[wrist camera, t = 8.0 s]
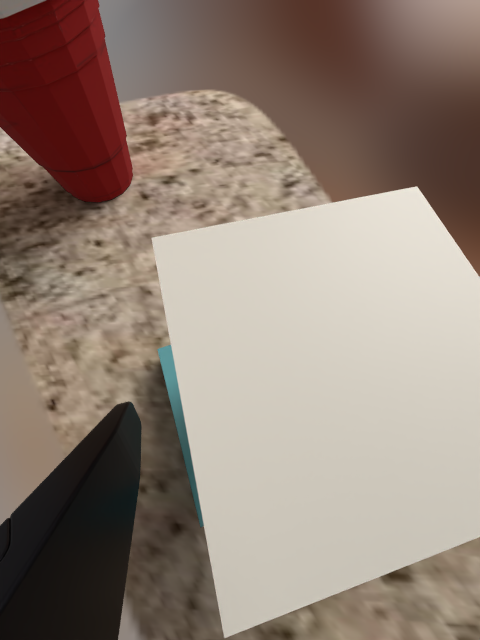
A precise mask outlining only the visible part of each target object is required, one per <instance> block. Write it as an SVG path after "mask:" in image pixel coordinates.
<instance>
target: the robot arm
mask: <svg viewBox="0 0 480 640" xmlns="http://www.w3.org/2000/svg"><path fill="white" fill-rule="evenodd" d="M140 467H141V421H140V419H139V417H138V414H137V412H136V410H135V408H134V405H133V404H132V403H131V402H125V403H121V404H118V405H116V406H115V407H114V408H113V409H112V410H111V411H110V412H109V413H108V414H107V415H106V416H105V417H104V418H103V419H102V420H101V422H100V423H99V424H98V425H97V426H96V427H95V428H94V429H93V430H92V431H91V432H90V433H89V434H88V435H87V436H86V437H85V438H84V439H83V440H82V441H81V442H80V443H79V444H78V445H77V446H76V448H75V449H74V450H73V451H72V452H71V453H70V454H69V455H68V456H67V457H66V458H65V459H64V460H63V461H62V462H61V463H60V464H59V465H58V466H57V467H56V468H55V469H54V471H53V472H51V473H50V475H49V476H48V477H47V478H46V479H45V480H44V481H43V482H42V483H41V484H40V485H39V486H38V487H37V488H36V489H35V490H34V491H33V493H31V494H30V495H29V497H27V498H26V499H25V501H24V502H23V503H22V504H21V505H20V506H19V507H18V508H17V509H16V510H15V511H14V512H13V513H12V514H11V517H10V518H7V519H6V520H5V521H4V522H3V523H2V524H1V525H0V640H118V635H119V628H120V620H121V613H122V606H123V599H124V591H125V584H126V577H127V569H128V562H129V555H130V547H131V540H132V533H133V526H134V518H135V511H136V504H137V496H138V489H139V481H140Z"/></svg>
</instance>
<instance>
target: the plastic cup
mask: <svg viewBox="0 0 480 640" xmlns="http://www.w3.org/2000/svg"><path fill="white" fill-rule="evenodd" d="M98 8H99V3H98V0H0V127H1V128H2V129H3V130H4V131H5V132H6V133H7V134H8V135H9V136H10V137H11V138H12V139H13V140H14V141H15V142H16V143H17V144H18V145H19V146H20V147H21V148H22V149H23V150H24V151H25V152H26V153H27V154H28V155H29V156H30V157H32V158H33V159H34V160H35V161H36V162H37V163H38V164H39V165H40V166H43V167H44V168H45V169H46V170H47V172H48V173H49V174H50V175H51V176H52V177H53V178H54V179H55V180H56V181H57V182H58V183H59V184H60V185H61V186H62V187H63V188H64V189H65V190H66V191H67V192H69V193H71V194H72V195H73V196H74V197H76V198H78V199H80V200H82V201H85V202H102V201H106V200H111V199H113V198H115V197H117V196H118V195H120V194H122V193H123V192H124V191H125V190H126V189H127V188H128V187H129V185H130V184H131V180H132V177H133V173H132V169H133V168H132V164H131V159H130V155H129V150H128V146H127V142H126V136H127V135H126V131H125V127H124V122H123V118H122V113H121V109H120V105H119V100H118V96H117V92H116V87H115V83H114V78H113V74H112V70H111V65H110V61H109V56H108V52H107V48H106V43H105V39H104V38H105V32H104V29H103V25H102V21H101V17H100V13H99V9H98Z"/></svg>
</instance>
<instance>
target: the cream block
mask: <svg viewBox="0 0 480 640" xmlns="http://www.w3.org/2000/svg"><path fill="white" fill-rule="evenodd" d="M152 243H153V248H154V254H155V259H156V265H157V270H158V276H159V281H160V287H161V292H162V298H163V303H164V309H165V314H166V320H167V325H168V331H169V336H170V342H171V347H172V353H173V358H174V364H175V369H176V375H177V380H178V386H179V391H180V397H181V402H182V408H183V413H184V419H185V424H186V430H187V435H188V441H189V446H190V452H191V457H192V463H193V468H194V474H195V479H196V485H197V490H198V496H199V501H200V507H201V512H202V518H203V523H204V529H205V534H206V540H207V545H208V551H209V556H210V562H211V567H212V573H213V578H214V584H215V589H216V595H217V600H218V606H219V611H220V617H221V622H222V628H223V633H224V638H226V637H229V636H231V635H234V634H236V633H239V632H241V631H244V630H246V629H249V628H251V627H254V626H256V625H259V624H261V623H264V622H266V621H269V620H272V619H274V618H277V617H279V616H282V615H284V614H287V613H289V612H292V611H294V610H297V609H299V608H302V607H304V606H307V605H309V604H312V603H314V602H317V601H319V600H322V599H324V598H327V597H329V596H332V595H334V594H337V593H340V592H342V591H345V590H347V589H350V588H352V587H355V586H357V585H360V584H362V583H365V582H367V581H370V580H372V579H375V578H377V577H380V576H382V575H385V574H387V573H390V572H392V571H395V570H397V569H400V568H402V567H405V566H408V565H410V564H413V563H415V562H418V561H420V560H423V559H425V558H428V557H430V556H433V555H435V554H438V553H440V552H443V551H445V550H448V549H450V548H453V547H455V546H458V545H460V544H463V543H465V542H468V541H471V540H473V539H476V538H478V537H480V277H479V276H478V275H477V273H476V272H475V270H474V269H473V267H472V266H471V264H470V263H469V261H468V260H467V259H466V257H465V256H464V254H463V253H462V251H461V250H460V248H459V247H458V245H457V244H456V243H455V241H454V240H453V238H452V237H451V235H450V234H449V233H448V231H447V229H446V228H445V226H444V225H443V224H442V222H441V221H440V219H439V218H438V216H437V215H436V213H435V212H434V211H433V209H432V208H431V206H430V205H429V203H428V202H427V201H426V199H425V197H424V196H423V194H422V193H421V192H420V190H419V189H418V187H412V188H407V189H402V190H397V191H391V192H386V193H381V194H376V195H371V196H365V197H360V198H355V199H350V200H345V201H340V202H334V203H329V204H324V205H319V206H314V207H309V208H303V209H298V210H293V211H288V212H283V213H278V214H272V215H267V216H262V217H257V218H252V219H247V220H241V221H236V222H231V223H226V224H221V225H216V226H210V227H205V228H200V229H195V230H190V231H185V232H179V233H174V234H169V235H164V236H159V237H154V238H152Z"/></svg>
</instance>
